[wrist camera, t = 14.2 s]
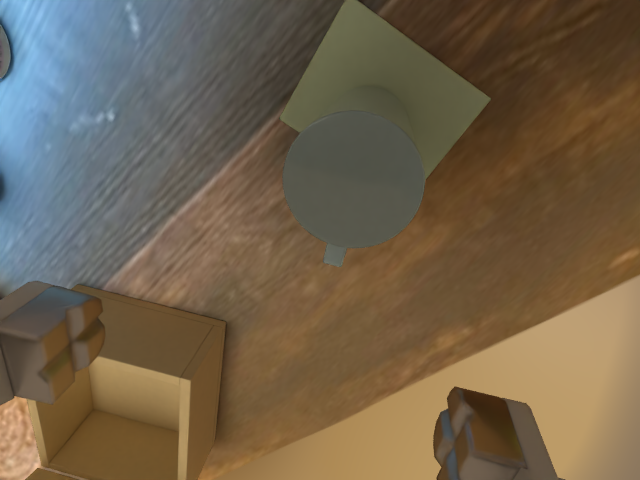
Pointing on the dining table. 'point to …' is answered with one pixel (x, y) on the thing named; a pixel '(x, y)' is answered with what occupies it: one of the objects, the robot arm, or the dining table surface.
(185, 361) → the chest
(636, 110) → the dining table surface
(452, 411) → the robot arm
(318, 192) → the grey cylinder
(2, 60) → the pill bottle
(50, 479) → the lid
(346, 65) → the mat
